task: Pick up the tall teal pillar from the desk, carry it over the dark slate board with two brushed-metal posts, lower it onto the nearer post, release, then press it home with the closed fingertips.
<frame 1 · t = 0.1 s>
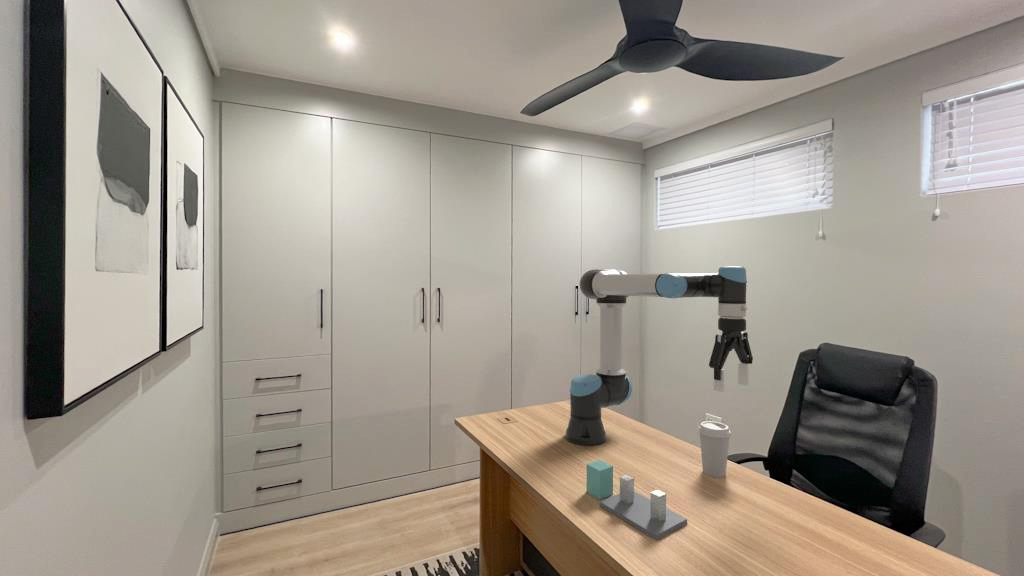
hand: (731, 387, 129), 28 cm above the table, fingers open, 13 cm apart
tall teal pillar: (599, 493, 121), on the table
slate board: (641, 514, 110), on the table
post 1: (626, 506, 114), resting on slate board
post 2: (658, 523, 105), resting on slate board
coffee cup: (714, 473, 133), on the table
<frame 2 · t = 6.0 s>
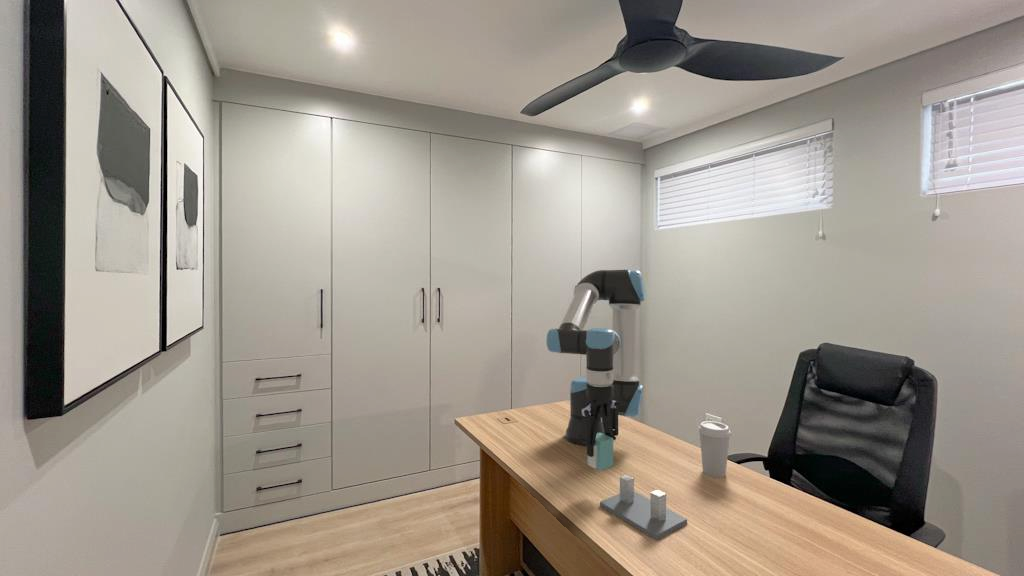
hand: (600, 463, 121), 8 cm above the table, fingers closed on tall teal pillar, 5 cm apart
tall teal pillar: (600, 464, 121), point 8 cm above the table, touching gripper
everything else where it was.
when the fingers open (2 cm above the table, at t = 11.0 s): tall teal pillar stays where it is, resting on slate board.
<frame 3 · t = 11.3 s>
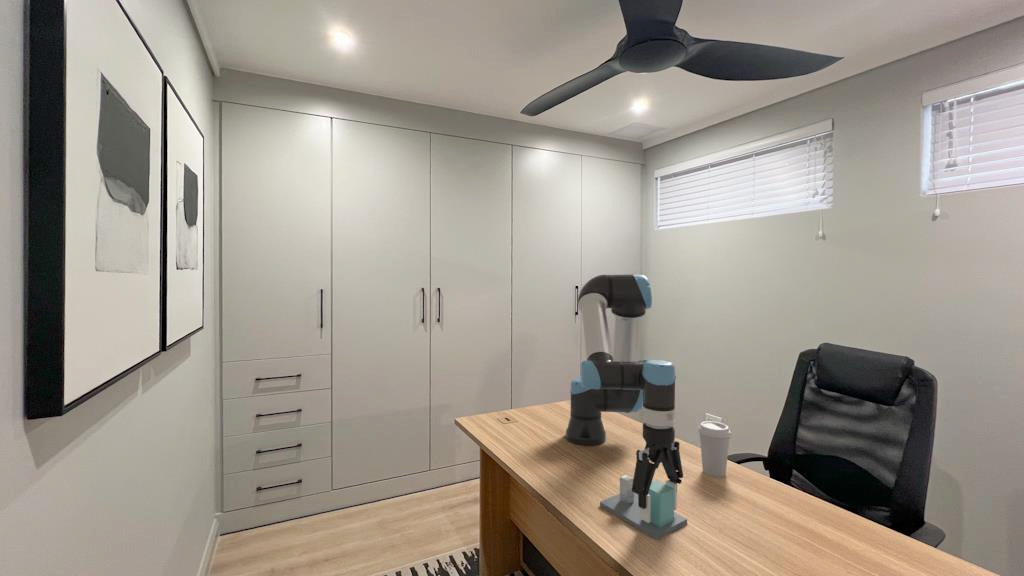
hand: (658, 513, 105), 3 cm above the table, fingers open, 9 cm apart
tall teal pillar: (658, 518, 105), point 1 cm above the table, touching slate board
everything else where it was.
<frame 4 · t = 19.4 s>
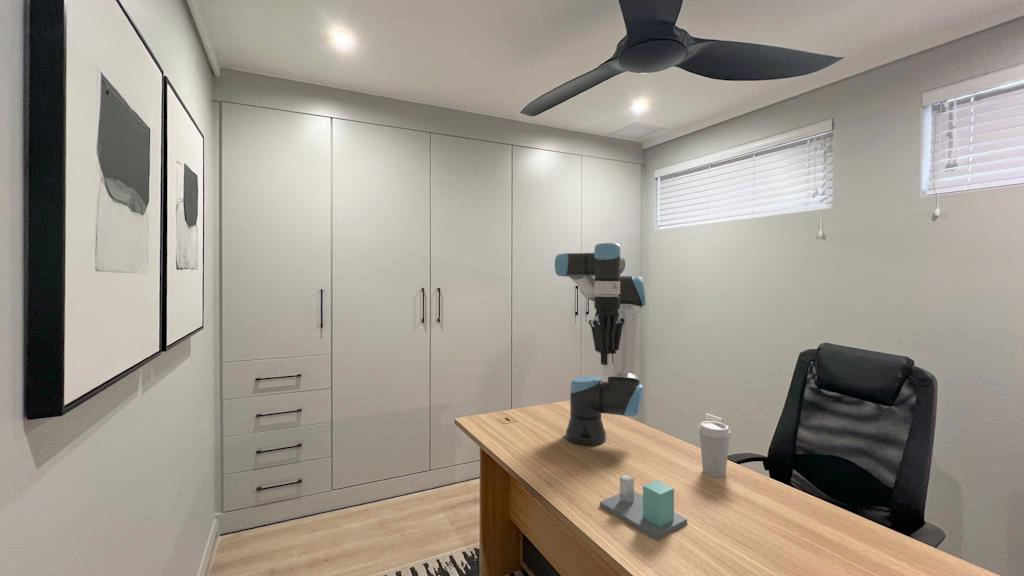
hand: (607, 375, 126), 32 cm above the table, fingers closed
nothing on the table moved.
at the end: tall teal pillar 0.1 cm from the post 2 (horizontally); tall teal pillar point 1.2 cm above the table; tall teal pillar tilted 0° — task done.
